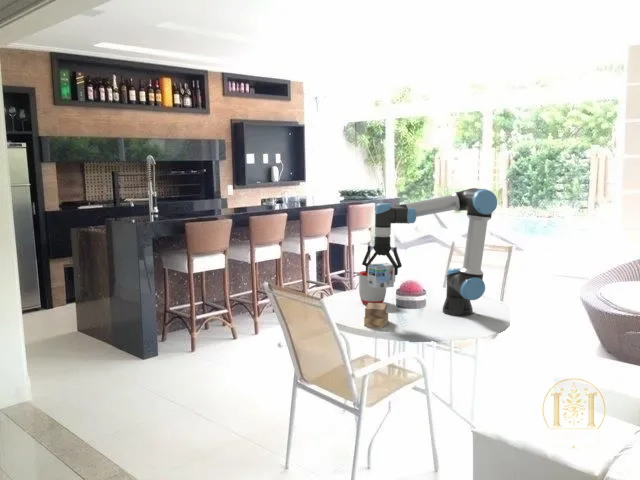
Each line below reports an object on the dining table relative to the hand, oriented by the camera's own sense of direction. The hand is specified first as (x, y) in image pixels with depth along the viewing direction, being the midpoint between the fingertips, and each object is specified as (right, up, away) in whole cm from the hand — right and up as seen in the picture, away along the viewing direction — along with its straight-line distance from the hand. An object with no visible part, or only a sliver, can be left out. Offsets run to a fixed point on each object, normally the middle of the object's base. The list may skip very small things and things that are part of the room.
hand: (381, 280), depth 281 cm
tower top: (-2, -17, +2) cm, 17 cm away
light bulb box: (0, -3, 0) cm, 3 cm away
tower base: (-2, -21, +3) cm, 21 cm away
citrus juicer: (+1, -16, +44) cm, 46 cm away
